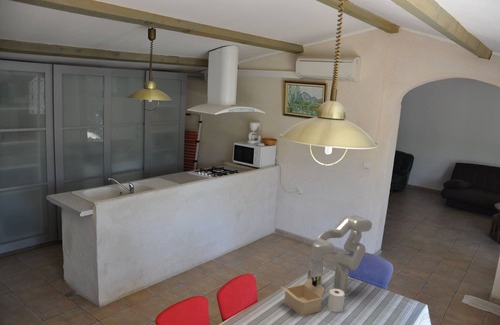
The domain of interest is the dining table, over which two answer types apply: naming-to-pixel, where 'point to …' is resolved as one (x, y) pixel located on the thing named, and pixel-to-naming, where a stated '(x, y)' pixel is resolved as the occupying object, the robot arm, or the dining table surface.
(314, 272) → the robot arm
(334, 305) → the toilet paper
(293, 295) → the flap
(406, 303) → the dining table surface
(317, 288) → the flap
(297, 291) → the carton
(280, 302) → the dining table surface
